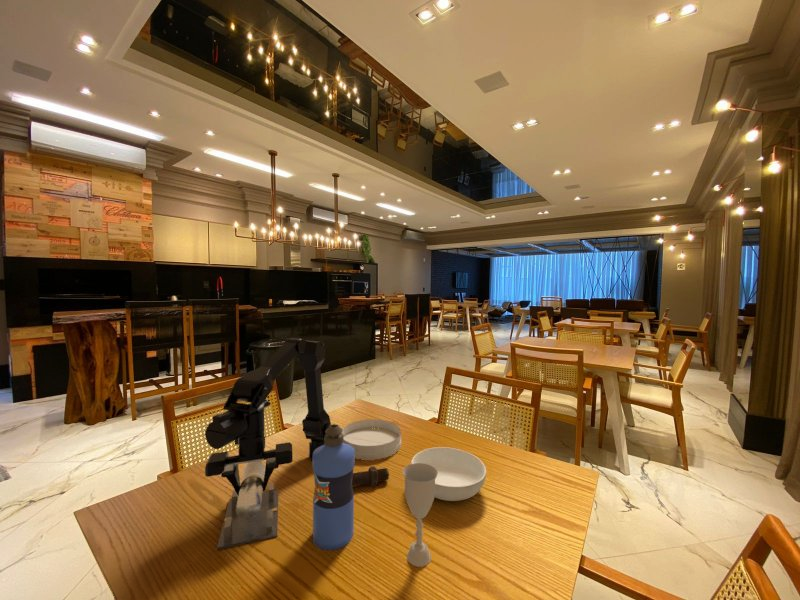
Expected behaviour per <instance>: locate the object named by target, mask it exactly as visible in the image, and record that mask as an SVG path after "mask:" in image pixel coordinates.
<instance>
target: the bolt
mask: <svg viewBox="0 0 800 600" xmlns="http://www.w3.org/2000/svg"><path fill="white" fill-rule="evenodd" d="M389 476H390V472H389V470H388V468H386V467H385V468H379V469H378V468H377V467H375V466H374V465H373V466H370V467H369V468H368V470H366V471H358V472H353V477H352V487H354V486H361V485H366V484H368V485H369V486H370V487H375V486H377V485H378V484H379V482H383V481H385V482H386V481H388V480H389V479H390V477H389Z"/></svg>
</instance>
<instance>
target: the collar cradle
mask: <svg viewBox="0 0 800 600" xmlns="http://www.w3.org/2000/svg"><path fill="white" fill-rule="evenodd" d="M237 501H238V495H237V493H236V491H235V489H233V490H232V494H231V498H229V499H228V503H227V507H226V511H225V515H224V519H223V524H222V527H221V530H220V534H219V539H218V543H217V546H216V551H220V550H224V549H225V550H226V549H229V548H233V547H238V546H242V545H247V544H251V543H255V542H259V541H264V540H267V539H271V538H276V537H278V529H279V528H278V526H279V524H278V523H279V522H278V521H279V489H275V482H271V483H269V484H268V491H262V499H261V508H260V510H259V512H258V513H257V514H256V515H255V516H254V517H252V518H249V519H242V518H240V517H239V516H238V515H237V514H236V506H237Z"/></svg>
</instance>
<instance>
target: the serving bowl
mask: <svg viewBox="0 0 800 600" xmlns="http://www.w3.org/2000/svg"><path fill="white" fill-rule="evenodd" d="M415 463H422V464H427V465H430V466H432V467H434V468H435V469H436V470H437V472H438V474H437V477H436V479H435V497H434V499H435V498H436V499H439V500H441V501H442V500H443V501H448V502H458V501H464V500H467V499H469V498H473V497H474V496H475V495H476V494H478V493H479V492H480V491H481V489H482V488H483V487H484V484H485V481H486V476H487V467H486V465H485V464H484V463H483V461H482V460H481V459H480V458H478V456H476V455H474V454H472V453H470V452H468V451H466V450H462V449H458V448H455V447H447V446H445V447H444V446H440V447H439V446H437V447H431V448H425V449H422V450H421V451H419V452H417V453H416V454H415V455H414V456H413V457H412V458H411V461H410V464H415Z"/></svg>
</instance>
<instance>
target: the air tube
mask: <svg viewBox="0 0 800 600" xmlns="http://www.w3.org/2000/svg"><path fill="white" fill-rule="evenodd" d="M265 466H266V465H265V463H264V462H263V460H261V461H255V462H249V463H246V465H245V466H244V469H243V473H242V474H243V475H242V478H241V481H240V492H239V496H238V501H237V506H236V514H237V515H238V516H239V517H240V518H242V519H249V518H252V517H254V516H255V515H256V514H257V513H258V512H259V510H260V508H261V499H262V493H263V481H264V474H265Z"/></svg>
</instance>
